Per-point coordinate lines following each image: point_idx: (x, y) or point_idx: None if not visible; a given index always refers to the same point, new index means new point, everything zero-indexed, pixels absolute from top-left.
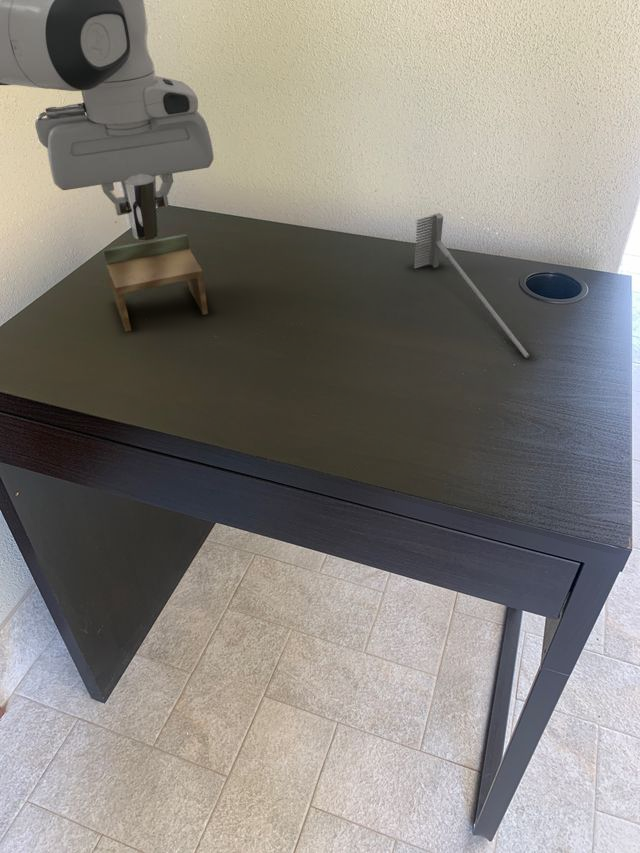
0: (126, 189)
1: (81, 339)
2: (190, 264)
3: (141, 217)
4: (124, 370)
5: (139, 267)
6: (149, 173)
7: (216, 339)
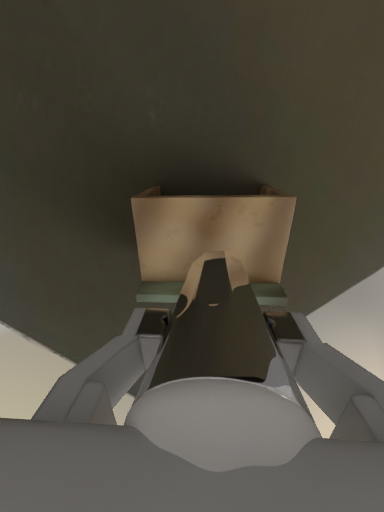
0: (294, 380)
1: (329, 191)
2: (147, 228)
3: (231, 279)
4: (307, 68)
5: (233, 252)
6: (145, 455)
7: (152, 106)
